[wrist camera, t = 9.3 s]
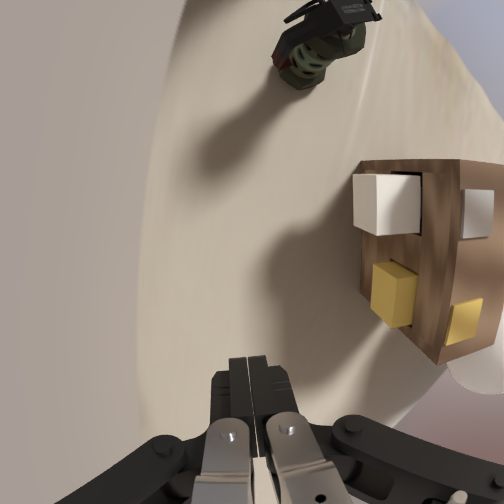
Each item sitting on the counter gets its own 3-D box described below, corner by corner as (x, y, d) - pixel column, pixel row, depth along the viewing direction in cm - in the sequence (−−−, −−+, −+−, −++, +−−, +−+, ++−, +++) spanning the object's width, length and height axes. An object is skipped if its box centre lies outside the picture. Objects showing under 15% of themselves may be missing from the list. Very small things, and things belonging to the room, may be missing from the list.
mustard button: (373, 263, 27) (396, 279, 23) (424, 257, 28) (451, 270, 23) (370, 308, 28) (391, 328, 24) (420, 299, 29) (444, 316, 25)
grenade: (274, 104, 29) (318, 52, 15) (251, 55, 28) (274, -23, 13) (330, 85, 29) (402, 36, 15) (306, 38, 28) (360, -34, 13)
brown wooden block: (360, 160, 32) (462, 159, 16) (413, 162, 32) (519, 167, 16) (359, 292, 35) (438, 367, 20) (409, 285, 36) (495, 346, 20)
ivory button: (352, 174, 25) (376, 175, 21) (410, 174, 26) (439, 176, 21) (353, 225, 26) (376, 235, 22) (410, 222, 27) (438, 231, 22)
